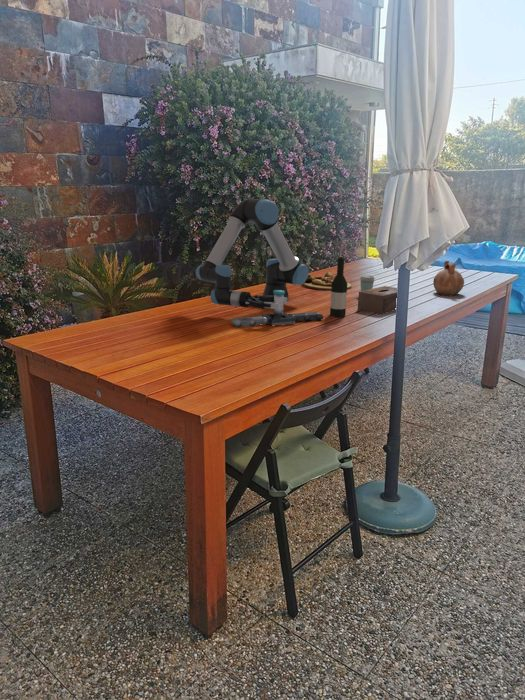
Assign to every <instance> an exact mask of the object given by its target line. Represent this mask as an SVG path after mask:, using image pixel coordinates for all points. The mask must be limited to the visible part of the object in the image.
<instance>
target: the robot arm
mask: <svg viewBox="0 0 525 700" xmlns="http://www.w3.org/2000/svg"><path fill="white" fill-rule="evenodd" d="M279 212H280V211H279V207H278V205H277V204H276V203H275V202H274V201H273V200H269V199H264V198H263V199H257V198H256V199H255V198H247V199H244V200H242V201H241V202H240V203H238V204H237V205H236V206H235V208H234V209H233V210H232V212H231V213H230V215H229V217H228V222H227V224H226V226H225V227H224V229H223V230H222V231H221V234H220V236H219V238H218V240H217V241H216V242H215V245H214V246H213V248H212V250H211V251H210V253H209V254H208V257H206V260H205V262H204V263H203V264H200V265H198V266H197V267H196V269H195V275H196V278H198V279H199V280H201V281H203V282H208V283H213V284H215V288H213V289H212V290H211V292H210V296H209V297H210V301H211V303H212V304H214V305H220V306H229V307H230V306H232V307H235V308H237V307H241V308H249V307H253V308H256V309H261V310H265V309H271V310H272V309H273V310H274V309H278V303H274V294H273V291H274V290H283V291H285V294H284V300H283V304H288V300H289V299H290V297H289V292H288V287H287V284H289V285H294V286H303V285H302V284H303V283H304V282H305V281H306V279H307V277H308V275H309V268H308V266H307V265H306V264H304V263H301V261H300V259H299V258H298V256H296V255H294V254H293V251H292V250H291V247H290V246H289V244H288V242H287V240H286V238H285V236H284V234H283V232H282V229H281V228H280V226H279V224H278V222H279V216H280V215H279ZM249 223H252V224H254V225H255V226H256V228H257V230H258V231H259V232H262V233H263V235H264V237H265V239H266V241H267V242H268V244H269V246H270V248H271V249H272V252H273V254H274V256H275V257H276V258H270V259H267V260H266V264H265V287H264V289H263V292H262V295H259V294H258V295H257V294H255V295H253V296H252V294H251V293H250V292H249V291H241V290H232V286H231V285H232V268H231V266H230V265H229V264H223V262H224V261H225V258H226V257H227V255H228V253H229V252H230V250H231V248H232V247H233V245H234V243H235V241H236V239H237V238H238V236H239V234H240V232H241V231H242V229H245V228H246V226H247V225H248V224H249ZM264 308H265V309H264Z"/></svg>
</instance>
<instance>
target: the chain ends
mask: <svg viewBox="0 0 525 700" xmlns="http://www.w3.org/2000/svg"><path fill="white" fill-rule="evenodd" d="M321 319H322V320H323V319H324V315H323V314H322V313H319V312H317V311H309V312H297V313H286V312H283V318H274V312H273V313H263V314H261V316H259V315H258V316H247V317H235V318H232V319H231V320H230V323H231V325H233V326H235V327H237V328H238V327H239V328H242V327H241V326H247V327H255V326H254V325H258V326H261V325H260V324H268V325H269V324H271V325H281V326H283V325H282V324H292V325H295V324H296V323H298V322H297V321H303V322H310V321H309V320H314V321H321ZM294 323H295V324H294ZM271 325H270V326H271Z"/></svg>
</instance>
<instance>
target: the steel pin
mask: <svg viewBox="0 0 525 700" xmlns="http://www.w3.org/2000/svg"><path fill="white" fill-rule="evenodd" d="M273 294H274V302H273V303H278V309H273V313H274V318H283V313H284V303H283V300H284V294H285V291H283V290H274V291H273Z"/></svg>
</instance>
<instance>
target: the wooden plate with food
mask: <svg viewBox="0 0 525 700" xmlns="http://www.w3.org/2000/svg"><path fill="white" fill-rule="evenodd" d="M335 277H336V275H334V276H333V274H332V273H331V272H330V271H327V272H326V273H325V274H324V276H318V275H316V276H315V275H314V276H311V274H308V277H307V279H306V281H305V282H304V283H303V284H302V285H301V286H303V287H304V286H305V287H304V288H307V289H310V288H311V290H316V289H319V290H318V291H325V290H331V289H332V281H333V280H334V278H335ZM351 288H352V284H351V283H349V282H347V290H350V289H351Z"/></svg>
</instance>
